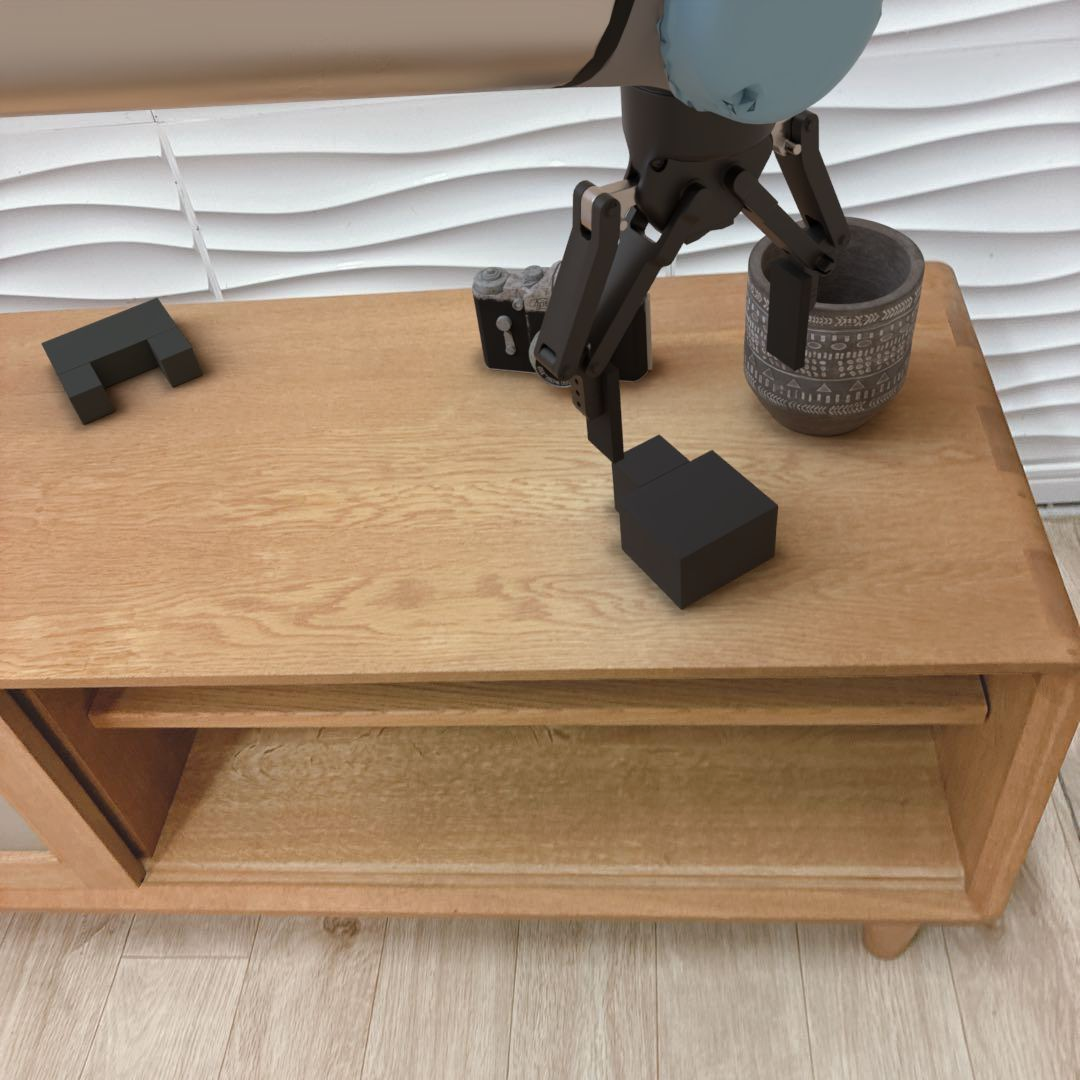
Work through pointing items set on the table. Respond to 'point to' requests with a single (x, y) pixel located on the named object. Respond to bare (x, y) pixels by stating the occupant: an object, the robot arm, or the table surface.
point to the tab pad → (690, 519)
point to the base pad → (119, 355)
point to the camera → (517, 315)
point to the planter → (839, 332)
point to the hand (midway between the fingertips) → (698, 403)
